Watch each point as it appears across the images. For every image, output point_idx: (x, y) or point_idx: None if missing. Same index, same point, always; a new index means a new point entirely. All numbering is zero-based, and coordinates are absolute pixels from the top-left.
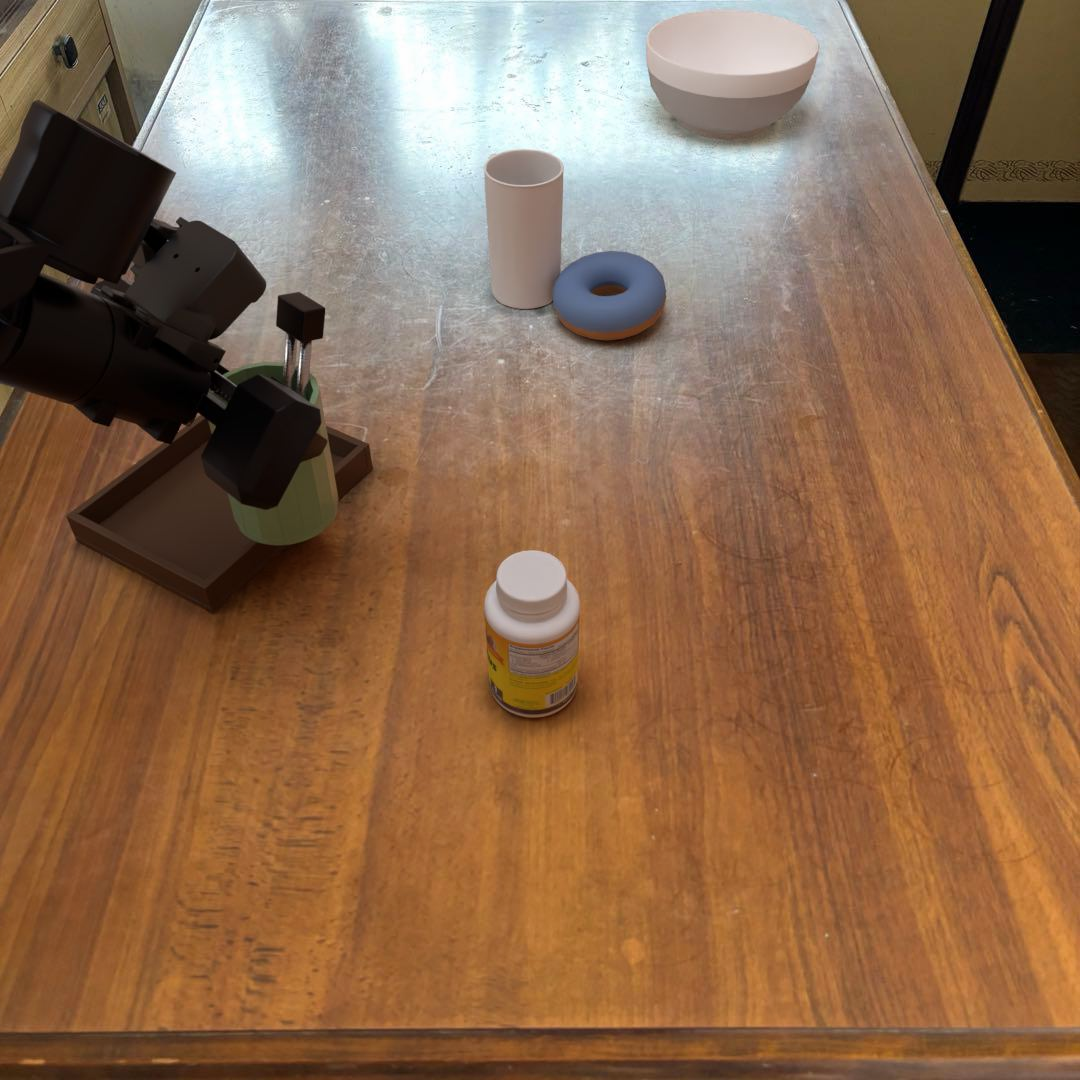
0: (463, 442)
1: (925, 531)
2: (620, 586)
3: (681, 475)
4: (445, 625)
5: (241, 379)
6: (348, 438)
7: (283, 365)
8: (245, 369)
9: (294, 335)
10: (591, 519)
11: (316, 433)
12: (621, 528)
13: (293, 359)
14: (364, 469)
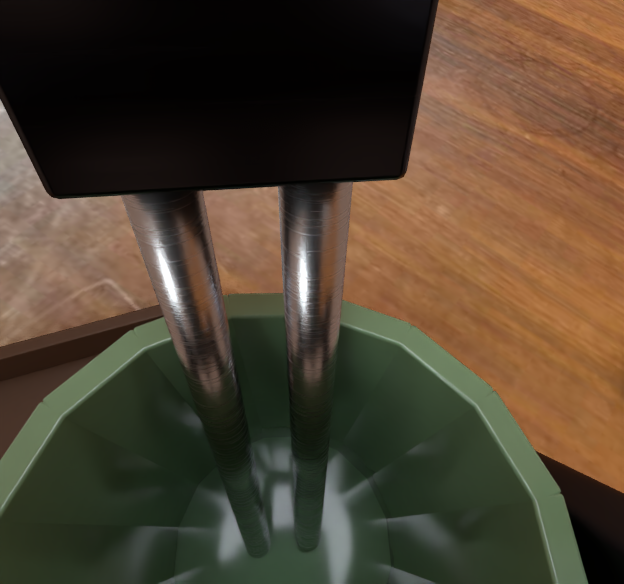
0: (238, 208)
1: (616, 29)
2: (566, 230)
3: (445, 97)
4: (533, 427)
5: (19, 559)
6: (140, 316)
7: (144, 347)
8: (2, 518)
9: (308, 165)
10: (454, 189)
11: (578, 472)
12: (484, 177)
13: (223, 300)
14: None
